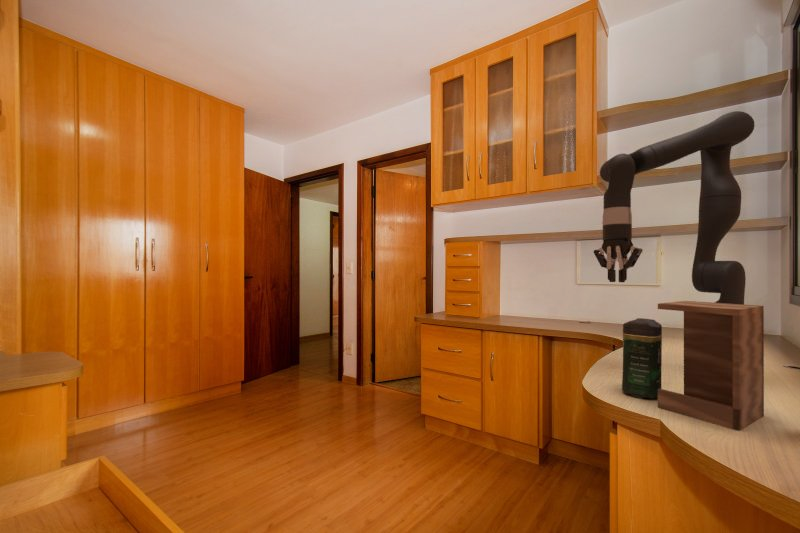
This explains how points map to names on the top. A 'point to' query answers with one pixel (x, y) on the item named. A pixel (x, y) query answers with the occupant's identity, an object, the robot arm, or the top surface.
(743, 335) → the walnut cubby
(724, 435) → the top surface
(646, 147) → the robot arm
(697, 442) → the top surface
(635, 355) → the coffee jar
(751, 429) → the top surface
